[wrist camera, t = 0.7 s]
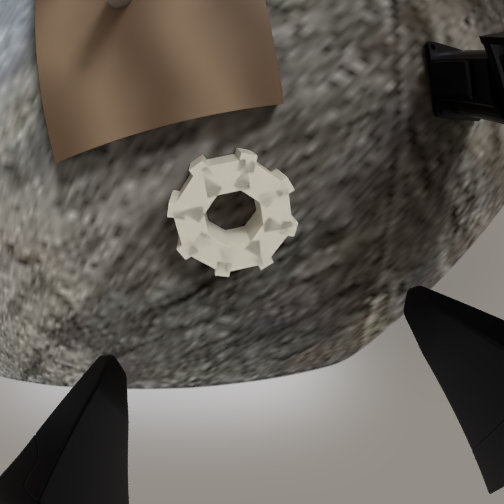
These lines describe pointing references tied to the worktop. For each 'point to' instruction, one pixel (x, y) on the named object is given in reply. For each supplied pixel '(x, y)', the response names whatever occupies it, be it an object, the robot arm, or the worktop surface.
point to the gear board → (148, 65)
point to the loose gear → (237, 239)
